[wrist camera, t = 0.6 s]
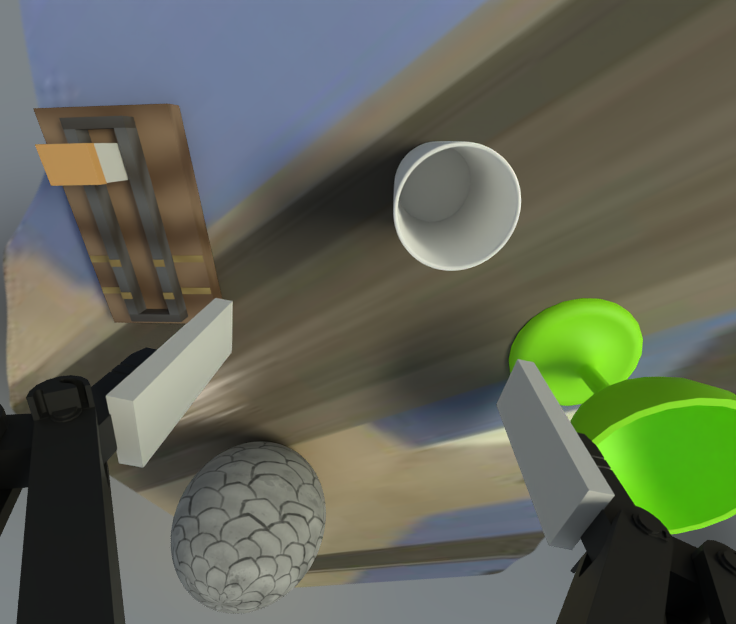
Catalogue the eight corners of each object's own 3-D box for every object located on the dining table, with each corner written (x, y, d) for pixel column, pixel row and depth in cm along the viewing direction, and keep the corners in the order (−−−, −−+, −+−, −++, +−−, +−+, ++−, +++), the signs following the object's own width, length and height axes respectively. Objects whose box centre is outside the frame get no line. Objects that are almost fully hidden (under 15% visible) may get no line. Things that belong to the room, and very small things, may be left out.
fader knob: (87, 144, 36) (34, 144, 31) (131, 142, 35) (86, 143, 30) (99, 179, 37) (51, 185, 32) (142, 178, 37) (100, 184, 32)
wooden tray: (50, 110, 37) (16, 106, 33) (179, 105, 36) (156, 101, 32) (125, 315, 47) (104, 328, 44) (226, 316, 46) (212, 330, 43)
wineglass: (666, 308, 41) (839, 414, 25) (609, 411, 48) (715, 546, 32) (531, 289, 42) (617, 383, 25) (493, 395, 49) (542, 521, 32)
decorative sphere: (201, 472, 60) (118, 613, 42) (237, 392, 52) (153, 526, 34) (306, 514, 63) (271, 663, 45) (356, 445, 55) (337, 593, 37)
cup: (413, 235, 40) (422, 289, 25) (381, 165, 37) (371, 181, 22) (483, 202, 38) (537, 240, 23) (455, 125, 35) (498, 114, 20)
